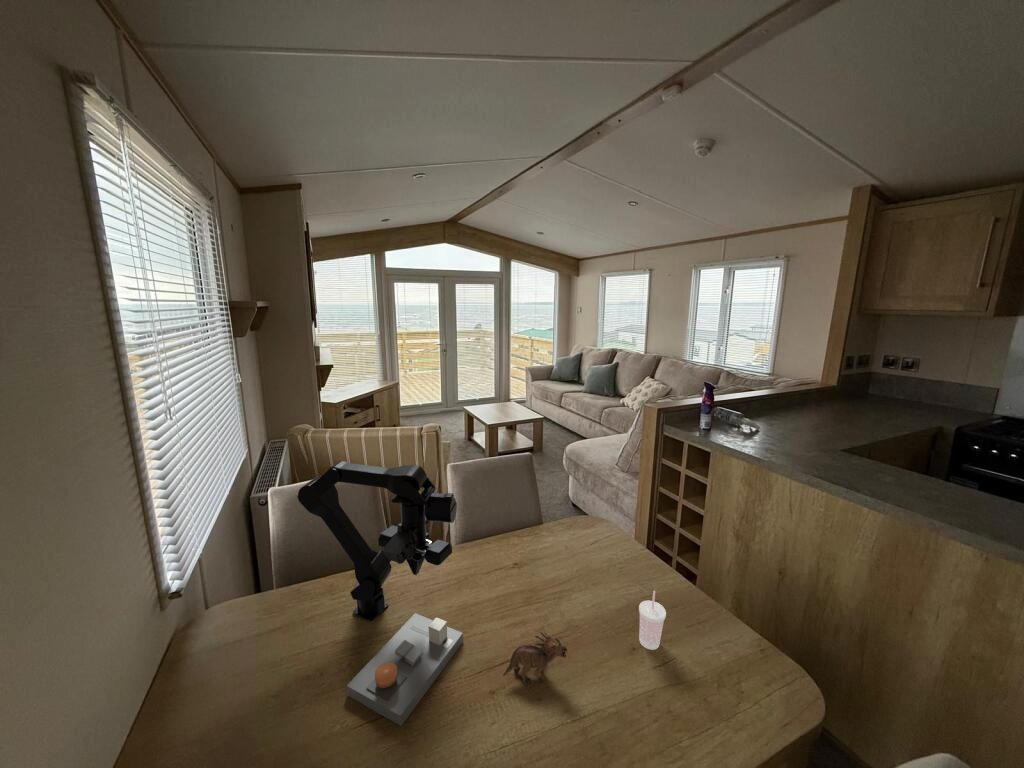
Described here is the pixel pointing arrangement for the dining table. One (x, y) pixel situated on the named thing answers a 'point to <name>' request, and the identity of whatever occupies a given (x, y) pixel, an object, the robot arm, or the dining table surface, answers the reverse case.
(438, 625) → the off-white cube
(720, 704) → the dining table surface
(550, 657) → the dinosaur figurine
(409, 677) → the switch console
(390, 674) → the push button
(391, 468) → the robot arm
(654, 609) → the beverage cup
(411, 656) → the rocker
